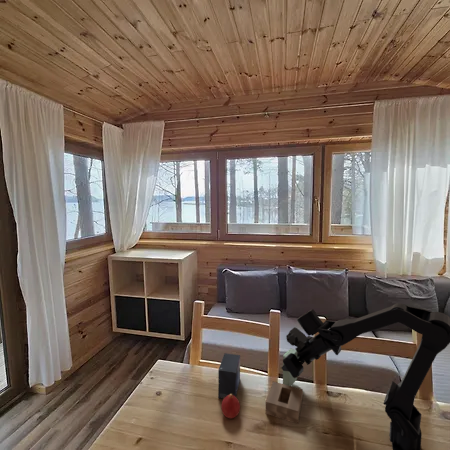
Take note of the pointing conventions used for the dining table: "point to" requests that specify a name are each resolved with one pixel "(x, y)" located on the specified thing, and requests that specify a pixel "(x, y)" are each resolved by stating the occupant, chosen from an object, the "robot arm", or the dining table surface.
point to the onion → (230, 406)
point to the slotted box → (284, 402)
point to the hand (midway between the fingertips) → (286, 364)
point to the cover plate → (287, 376)
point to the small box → (229, 375)
